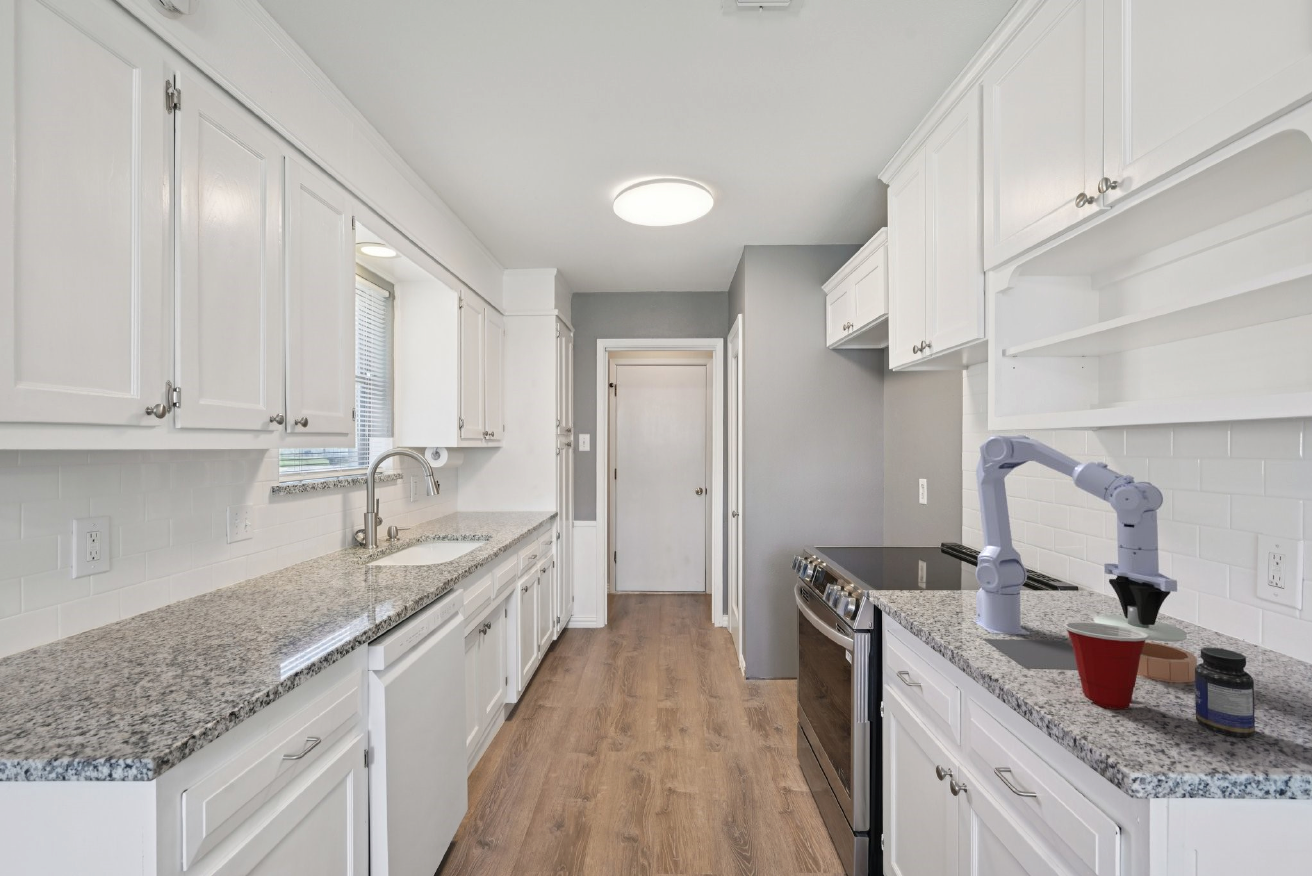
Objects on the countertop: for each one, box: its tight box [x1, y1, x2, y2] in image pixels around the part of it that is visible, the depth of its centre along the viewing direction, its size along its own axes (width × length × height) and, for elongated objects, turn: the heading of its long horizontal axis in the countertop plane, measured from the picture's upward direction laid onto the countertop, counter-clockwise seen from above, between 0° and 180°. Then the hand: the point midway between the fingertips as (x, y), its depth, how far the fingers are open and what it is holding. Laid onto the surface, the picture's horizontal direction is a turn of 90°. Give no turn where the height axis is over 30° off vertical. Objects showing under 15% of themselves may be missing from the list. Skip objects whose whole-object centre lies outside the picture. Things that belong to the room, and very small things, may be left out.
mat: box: [982, 638, 1078, 671], centre depth 111 cm, size 16×16×1 cm
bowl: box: [1137, 640, 1198, 683], centre depth 102 cm, size 11×11×4 cm
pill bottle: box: [1194, 646, 1256, 738], centre depth 82 cm, size 6×6×11 cm
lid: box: [1093, 605, 1188, 642], centre depth 104 cm, size 13×13×4 cm
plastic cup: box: [1063, 621, 1149, 710], centre depth 91 cm, size 11×11×12 cm
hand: (1139, 621), depth 103 cm, fingers closed on lid, 3 cm apart
